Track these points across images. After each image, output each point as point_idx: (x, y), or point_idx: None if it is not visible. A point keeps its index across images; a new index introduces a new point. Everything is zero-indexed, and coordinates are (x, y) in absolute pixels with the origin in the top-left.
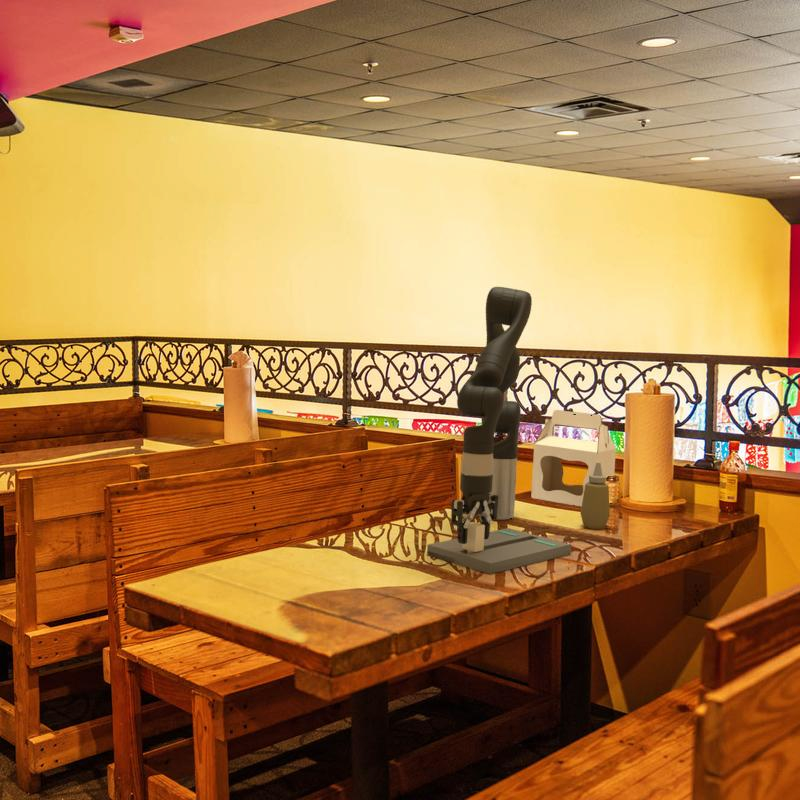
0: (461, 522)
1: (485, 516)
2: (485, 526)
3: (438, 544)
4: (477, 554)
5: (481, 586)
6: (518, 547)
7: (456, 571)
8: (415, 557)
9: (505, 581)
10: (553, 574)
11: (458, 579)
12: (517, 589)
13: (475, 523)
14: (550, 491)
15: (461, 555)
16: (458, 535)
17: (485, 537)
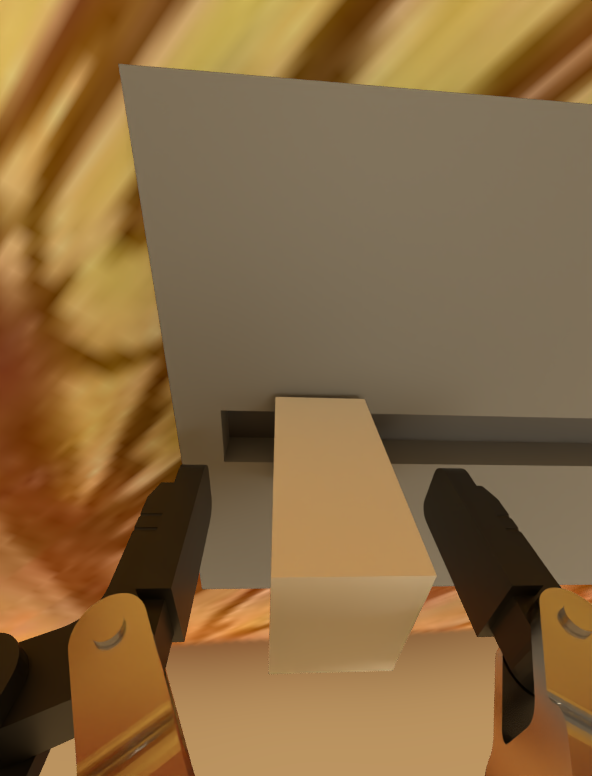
0: (26, 759)
1: (497, 756)
2: (473, 596)
3: (229, 154)
4: (264, 496)
5: (78, 593)
6: (551, 518)
7: (103, 465)
8: (8, 81)
9: (194, 596)
10: None
11: (41, 527)
12: None
13: (381, 623)
14: None
15: (182, 453)
16: (138, 530)
17: (429, 513)
